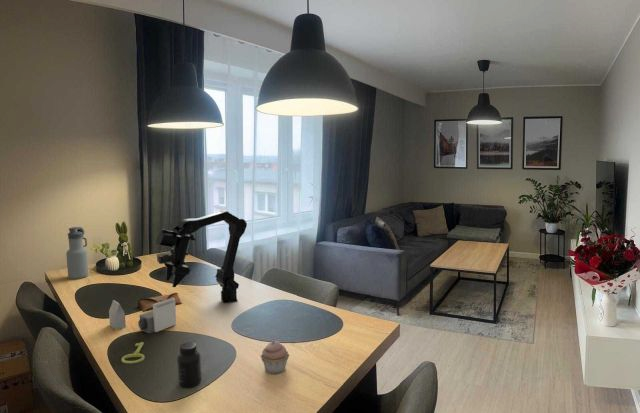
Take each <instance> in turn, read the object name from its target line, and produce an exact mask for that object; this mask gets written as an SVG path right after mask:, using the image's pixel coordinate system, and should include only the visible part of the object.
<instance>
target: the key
mask: <svg viewBox="0 0 640 413" xmlns="http://www.w3.org/2000/svg"><path fill="white" fill-rule="evenodd" d="M144 344H145V342H143V341H141V342H136V343H135V345H134V347H137V348H136V350H134V351H133V353H128V354H125V355H123V356H122V357H121V362H122V364H137V363H140V362H141V363H142V362H143V361H144V360H145V357H146V356H145V355H144V354H143V353H140V351H141V349H142V347H143V346H144ZM131 358H139V359H137V360H136V359H135V360H126V359H131Z"/></svg>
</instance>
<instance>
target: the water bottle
mask: <svg viewBox="0 0 640 413" xmlns="http://www.w3.org/2000/svg"><path fill="white" fill-rule="evenodd" d="M68 231H69V232H68V233H67V237H68V238H67V240H68V248H69V249H68V250H67V251H66V264H67V265H66V267H67V276H68V279H69V280H80V279H85V278H86V277H88V276H89V264H88V252H87V249H86V248H85V247H88V240H87V238H86V237H84V235H85V234H86V233H85V229H84V228H83V227H81V226H73V227H69V228H68ZM83 240H84V241H85V242H84V243H85V244H84V243H83Z"/></svg>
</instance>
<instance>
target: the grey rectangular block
mask: <svg viewBox="0 0 640 413" xmlns="http://www.w3.org/2000/svg"><path fill="white" fill-rule="evenodd" d="M137 325H138V328H139V329H140V331H142V332H145V333H147V334H151V333H155V332H154V319H153V310H149V311H146V312H144V313H141V314H139V320H138V324H137Z"/></svg>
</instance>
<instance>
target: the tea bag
mask: <svg viewBox="0 0 640 413" xmlns="http://www.w3.org/2000/svg"><path fill="white" fill-rule="evenodd" d="M108 316H109V317H108V318H109V326H111V327H112V328H113V329H114V330H115V331H118V330H120V329H124V328H126V326H127V324H126V312H125V311H124V309H123V307H122V306H121V304H120V303H119V302H118V301H116V300H114V299H112V302H111V305H110V308H109V310H108Z"/></svg>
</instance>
